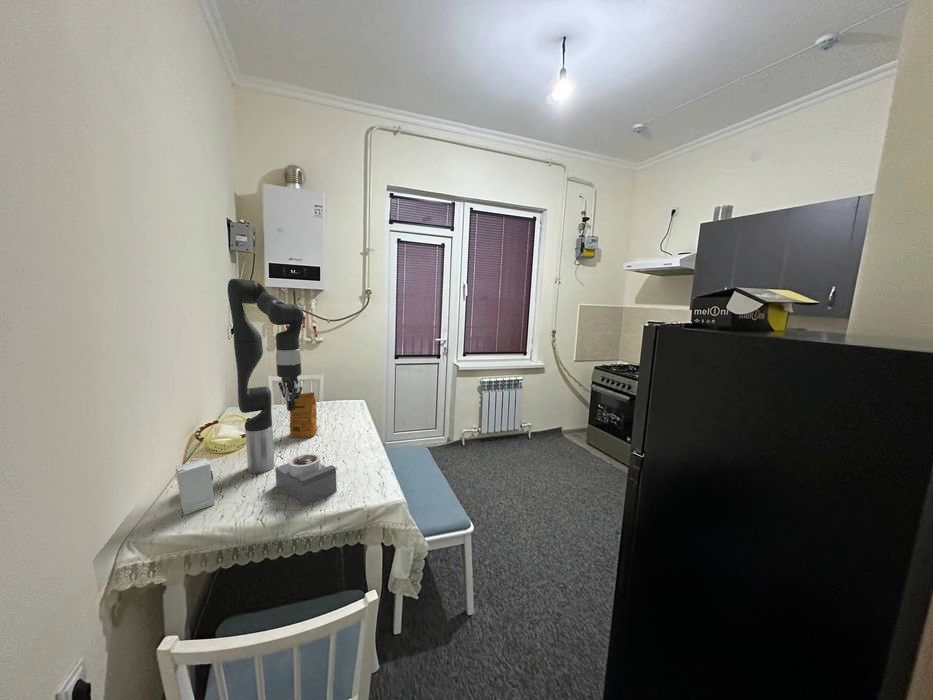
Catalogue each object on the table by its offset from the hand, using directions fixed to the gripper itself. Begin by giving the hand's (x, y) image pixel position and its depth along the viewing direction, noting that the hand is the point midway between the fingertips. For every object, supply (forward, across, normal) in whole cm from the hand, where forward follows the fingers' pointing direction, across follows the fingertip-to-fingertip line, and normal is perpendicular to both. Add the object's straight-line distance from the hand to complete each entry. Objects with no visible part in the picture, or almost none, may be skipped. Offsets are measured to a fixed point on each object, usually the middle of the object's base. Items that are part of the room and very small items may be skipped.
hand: (291, 410), depth 121 cm
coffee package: (+29, -45, +26) cm, 60 cm away
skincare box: (+29, -12, -26) cm, 41 cm away
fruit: (+29, -24, -22) cm, 44 cm away
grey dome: (+22, +4, +2) cm, 22 cm away
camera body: (+29, +4, +2) cm, 29 cm away
